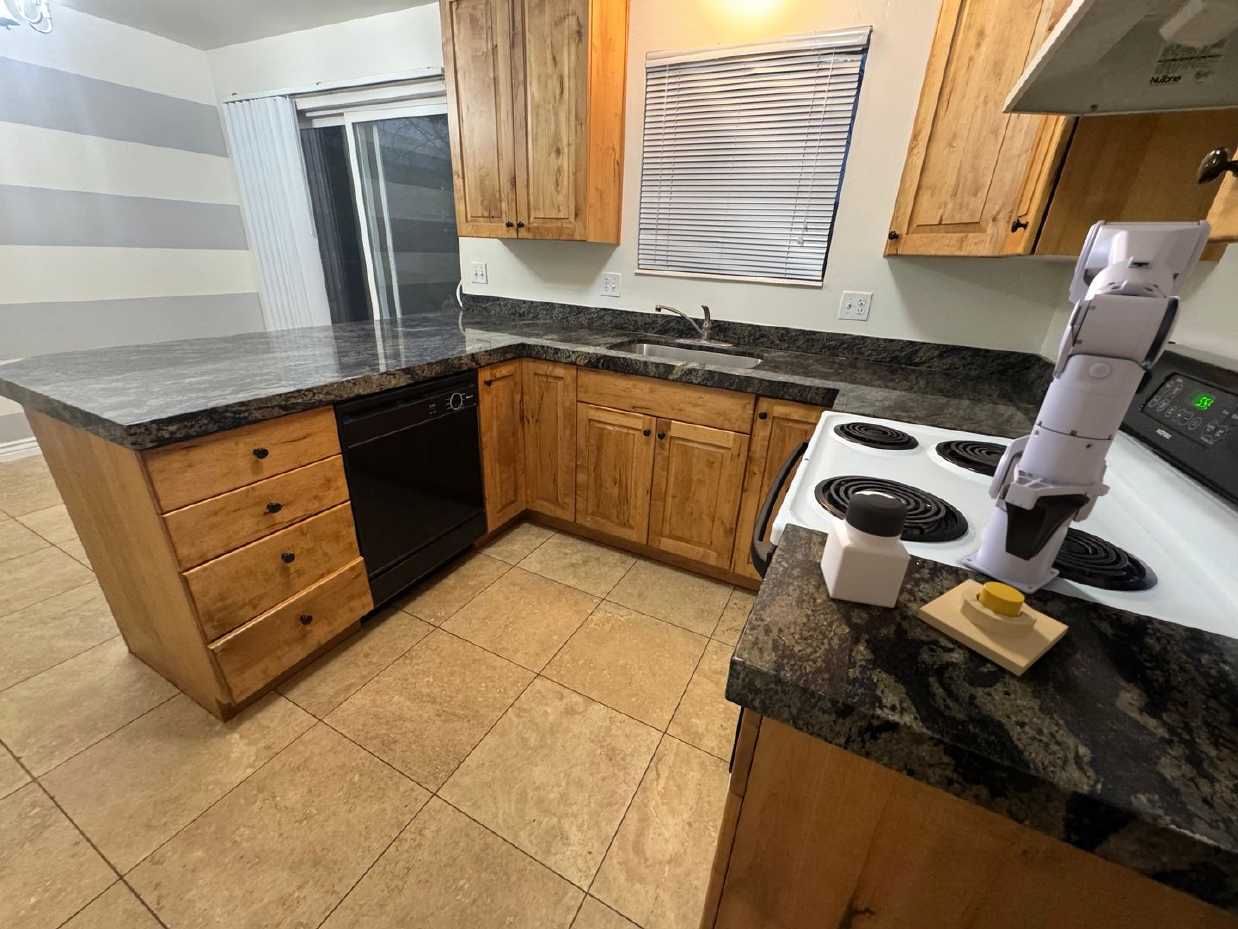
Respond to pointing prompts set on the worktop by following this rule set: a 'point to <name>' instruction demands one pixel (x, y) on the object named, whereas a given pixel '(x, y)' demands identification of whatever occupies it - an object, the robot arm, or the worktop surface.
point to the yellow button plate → (993, 627)
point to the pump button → (1001, 599)
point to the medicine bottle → (867, 551)
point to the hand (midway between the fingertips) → (1020, 553)
